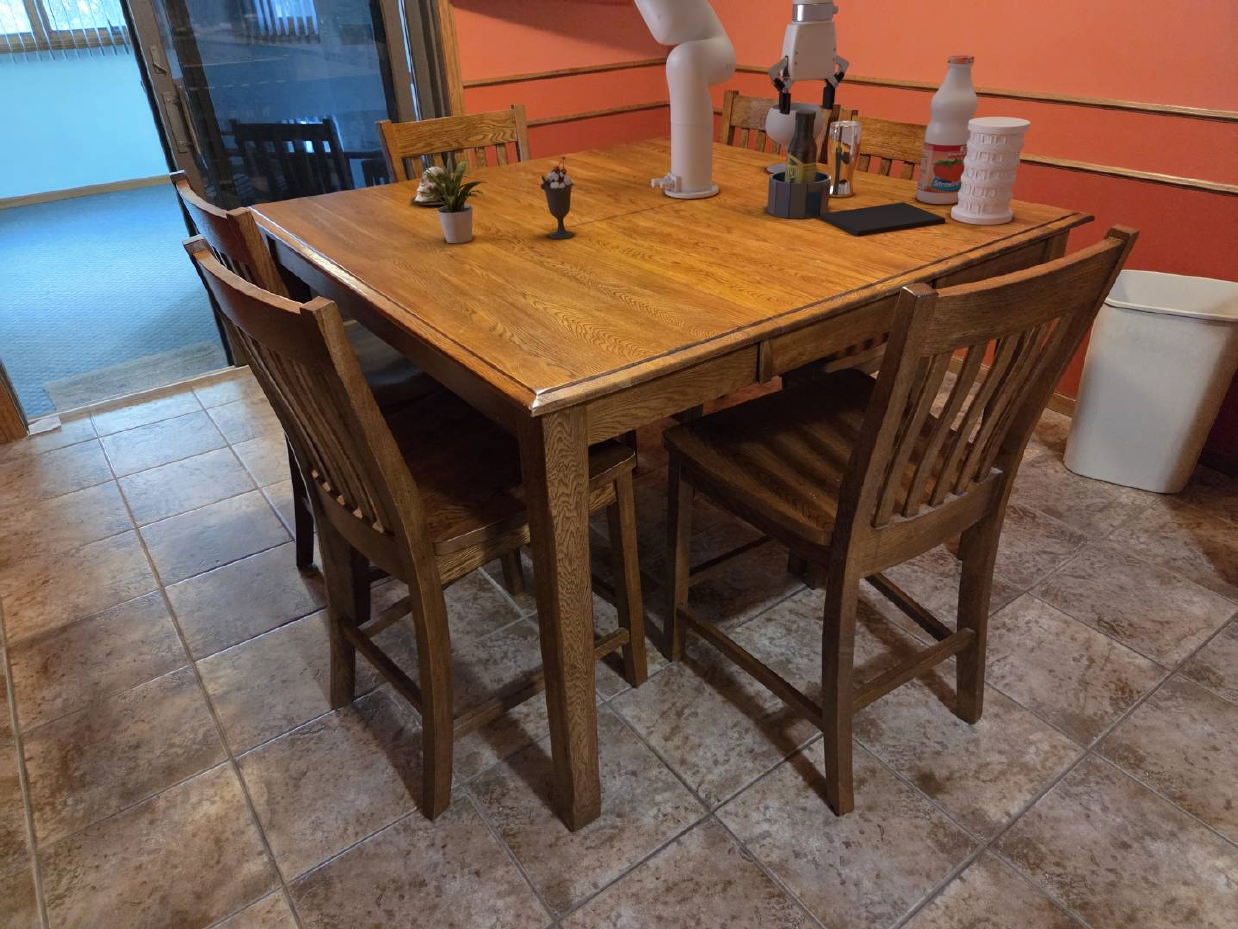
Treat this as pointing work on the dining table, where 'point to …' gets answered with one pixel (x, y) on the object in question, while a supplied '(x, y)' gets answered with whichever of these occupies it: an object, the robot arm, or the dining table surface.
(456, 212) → the house plant
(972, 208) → the decorative container
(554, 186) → the sundae
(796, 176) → the sauce bottle
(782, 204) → the holder
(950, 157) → the fruit juice
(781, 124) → the chalice
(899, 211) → the placemat
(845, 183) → the beer glass
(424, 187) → the skull
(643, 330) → the dining table surface
